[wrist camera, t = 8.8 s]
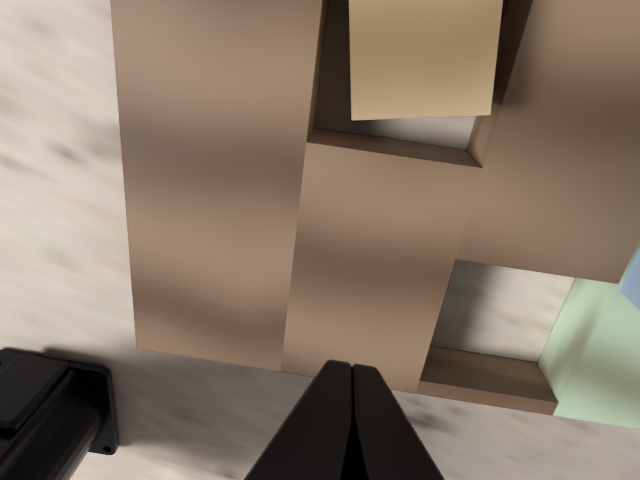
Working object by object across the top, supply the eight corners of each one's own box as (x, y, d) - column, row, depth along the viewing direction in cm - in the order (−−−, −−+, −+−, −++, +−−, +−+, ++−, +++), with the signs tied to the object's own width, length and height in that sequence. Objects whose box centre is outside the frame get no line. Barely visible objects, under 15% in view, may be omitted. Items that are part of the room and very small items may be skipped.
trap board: (646, 392, 21) (680, 435, 19) (160, 315, 22) (136, 348, 19) (891, -8, 14) (996, -16, 11) (141, -109, 14) (100, -135, 12)
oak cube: (461, 96, 16) (490, 114, 13) (353, 101, 17) (351, 120, 13) (472, -29, 14) (508, -50, 11) (351, -21, 15) (347, -38, 11)
